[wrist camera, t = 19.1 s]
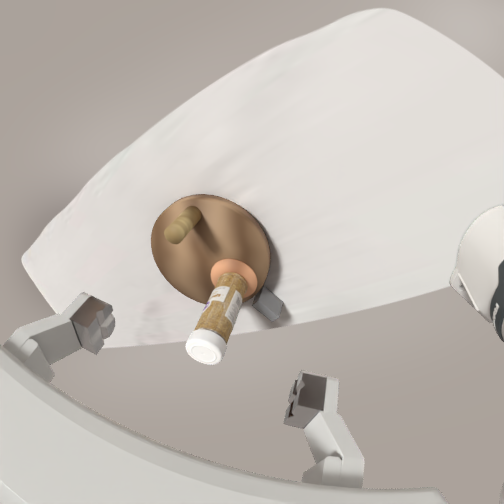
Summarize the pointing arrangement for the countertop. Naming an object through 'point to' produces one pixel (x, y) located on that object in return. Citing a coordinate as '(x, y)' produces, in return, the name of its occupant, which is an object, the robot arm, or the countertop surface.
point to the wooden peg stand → (209, 246)
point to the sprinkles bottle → (217, 320)
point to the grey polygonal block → (267, 304)
